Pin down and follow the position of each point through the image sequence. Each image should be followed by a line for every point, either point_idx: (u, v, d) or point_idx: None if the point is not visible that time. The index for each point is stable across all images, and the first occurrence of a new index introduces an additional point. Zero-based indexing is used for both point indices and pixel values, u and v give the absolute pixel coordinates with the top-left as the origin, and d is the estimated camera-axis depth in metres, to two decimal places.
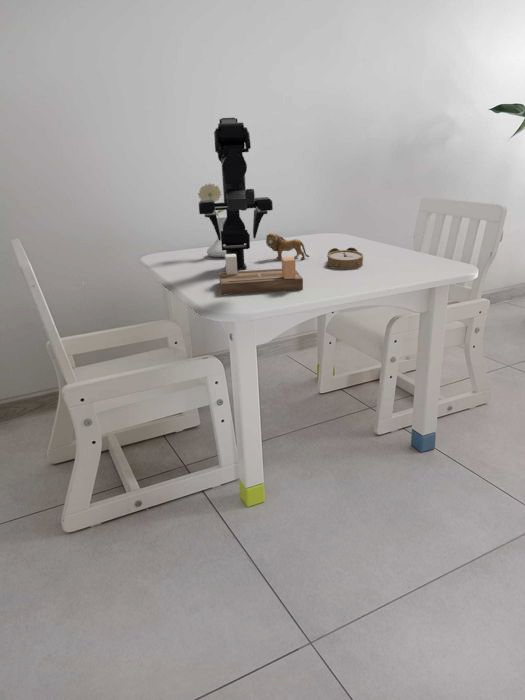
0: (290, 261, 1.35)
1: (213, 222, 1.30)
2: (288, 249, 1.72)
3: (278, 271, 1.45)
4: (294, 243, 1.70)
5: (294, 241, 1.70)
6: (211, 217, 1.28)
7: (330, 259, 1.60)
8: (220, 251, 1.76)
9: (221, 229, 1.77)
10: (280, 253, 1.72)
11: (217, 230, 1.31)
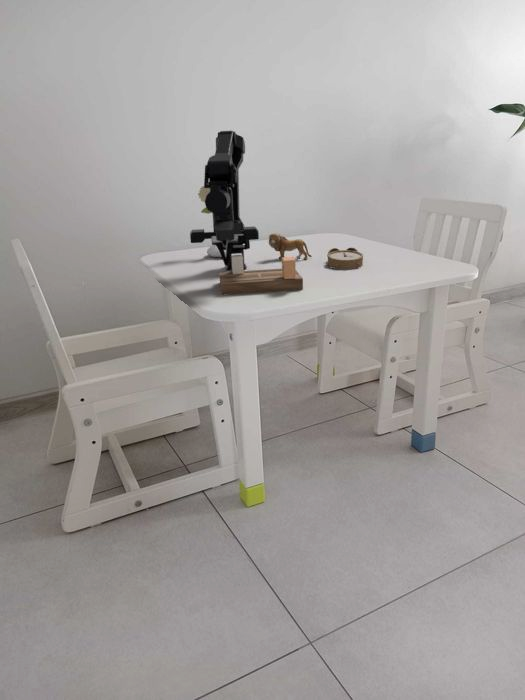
0: (290, 261, 1.35)
1: (219, 249, 1.41)
2: (291, 249, 1.72)
3: (278, 271, 1.45)
4: (296, 243, 1.70)
5: (297, 241, 1.70)
6: (218, 245, 1.39)
7: (330, 259, 1.60)
8: None
9: None
10: (283, 253, 1.72)
11: (223, 256, 1.42)
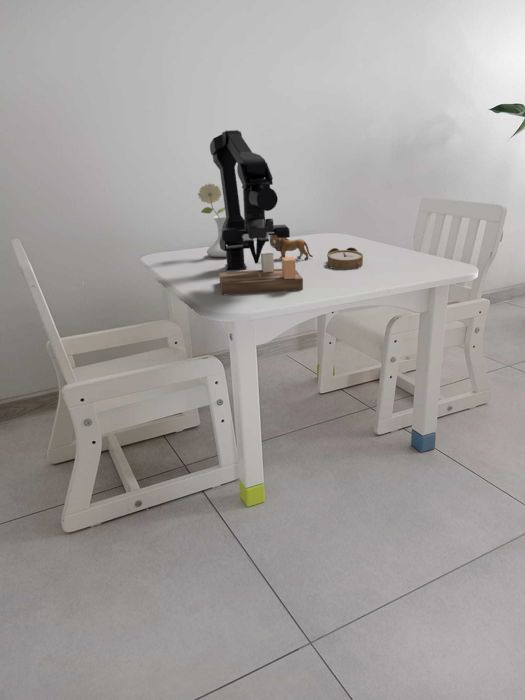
0: (290, 261, 1.35)
1: (250, 247, 1.41)
2: (292, 249, 1.71)
3: (278, 271, 1.45)
4: (297, 243, 1.70)
5: (298, 241, 1.70)
6: (249, 242, 1.40)
7: (330, 259, 1.60)
8: (220, 251, 1.76)
9: (221, 229, 1.77)
10: (284, 253, 1.72)
11: (254, 254, 1.43)
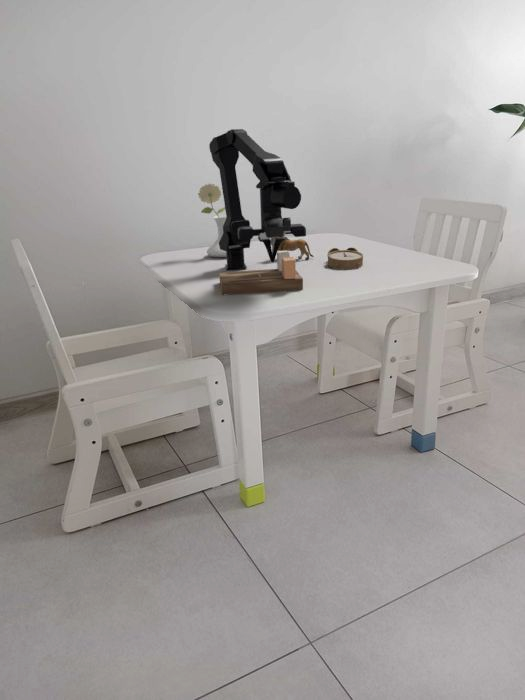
0: (290, 261, 1.35)
1: (267, 246, 1.42)
2: (292, 249, 1.71)
3: (278, 271, 1.45)
4: (298, 243, 1.70)
5: (299, 241, 1.70)
6: (265, 241, 1.40)
7: (330, 259, 1.60)
8: (220, 251, 1.76)
9: (221, 229, 1.77)
10: None
11: (270, 253, 1.43)
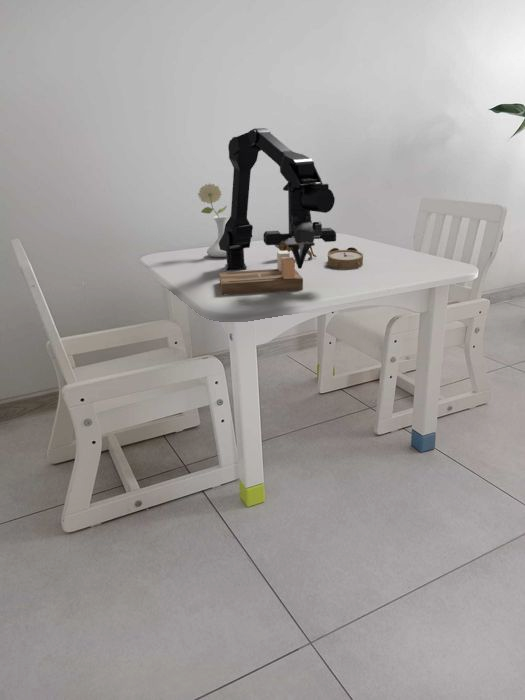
0: (289, 261, 1.35)
1: (294, 251, 1.34)
2: None
3: (278, 271, 1.45)
4: None
5: None
6: (294, 247, 1.33)
7: (330, 259, 1.60)
8: (220, 251, 1.76)
9: (221, 229, 1.77)
10: None
11: (298, 259, 1.36)
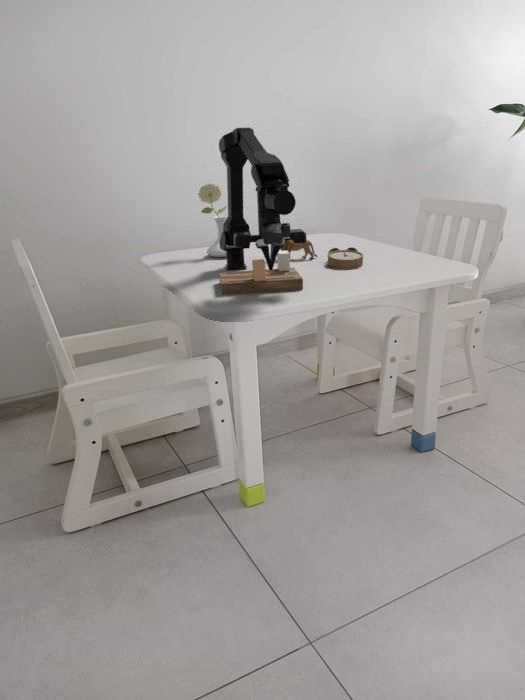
0: (260, 263, 1.34)
1: (265, 253, 1.33)
2: (297, 249, 1.71)
3: (278, 271, 1.45)
4: (303, 243, 1.70)
5: None
6: (263, 248, 1.32)
7: (330, 259, 1.60)
8: (220, 251, 1.76)
9: (221, 229, 1.77)
10: None
11: (268, 260, 1.35)
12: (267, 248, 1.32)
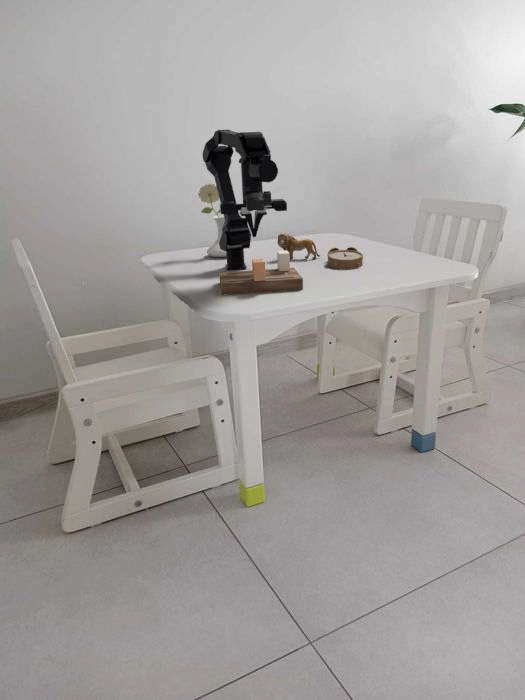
0: (260, 263, 1.34)
1: (248, 220, 1.44)
2: (299, 249, 1.71)
3: (278, 271, 1.45)
4: (305, 243, 1.70)
5: (306, 241, 1.70)
6: (247, 216, 1.42)
7: (330, 259, 1.60)
8: (220, 251, 1.76)
9: (221, 229, 1.77)
10: (291, 253, 1.71)
11: (252, 228, 1.45)
12: (250, 216, 1.42)
